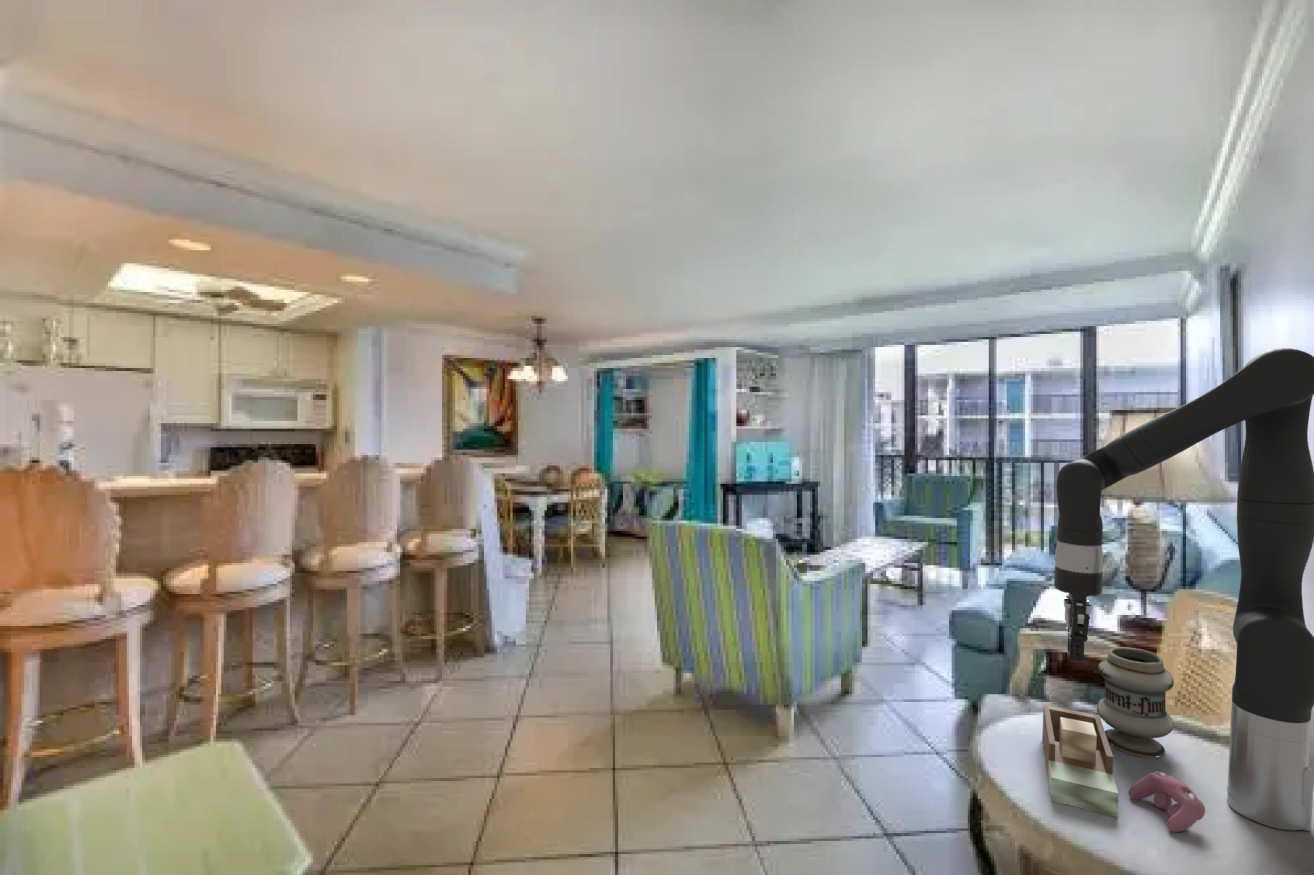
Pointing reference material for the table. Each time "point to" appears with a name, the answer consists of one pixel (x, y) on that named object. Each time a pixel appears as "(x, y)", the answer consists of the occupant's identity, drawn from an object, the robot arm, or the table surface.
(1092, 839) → the table surface
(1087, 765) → the channel
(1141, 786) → the video game controller
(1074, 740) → the maple block
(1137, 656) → the apothecary jar
